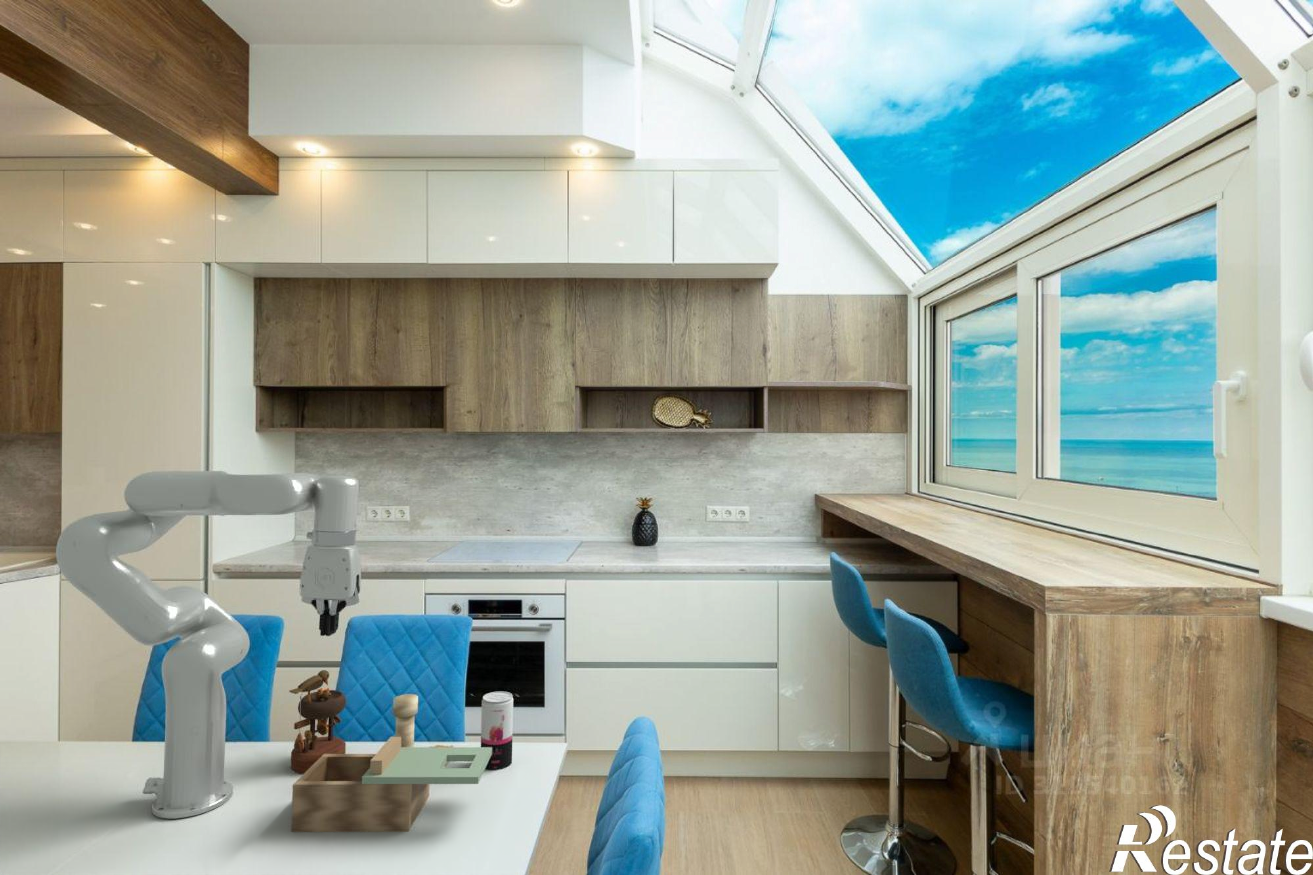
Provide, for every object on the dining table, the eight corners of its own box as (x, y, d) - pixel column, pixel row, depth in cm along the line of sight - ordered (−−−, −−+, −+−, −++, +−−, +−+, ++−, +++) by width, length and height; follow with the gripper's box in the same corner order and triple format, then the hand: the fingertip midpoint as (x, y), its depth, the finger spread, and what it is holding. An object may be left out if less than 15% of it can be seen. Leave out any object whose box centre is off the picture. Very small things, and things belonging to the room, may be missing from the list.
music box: (320, 780, 136) (316, 680, 137) (273, 779, 138) (269, 680, 139) (366, 748, 151) (362, 658, 152) (323, 747, 153) (319, 659, 154)
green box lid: (361, 784, 117) (362, 763, 117) (386, 753, 129) (387, 734, 129) (478, 783, 118) (478, 763, 118) (492, 753, 130) (492, 734, 130)
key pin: (387, 782, 136) (389, 702, 136) (395, 771, 141) (397, 694, 141) (411, 782, 136) (413, 702, 137) (419, 771, 141) (421, 694, 141)
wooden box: (291, 837, 116) (292, 784, 116) (322, 801, 128) (324, 753, 128) (408, 836, 117) (409, 784, 117) (429, 801, 129) (430, 753, 129)
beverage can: (500, 777, 139) (502, 703, 139) (473, 771, 141) (475, 699, 142) (517, 763, 145) (519, 693, 146) (491, 758, 147) (493, 689, 148)
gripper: (285, 539, 127) (278, 637, 127) (364, 543, 127) (357, 641, 127) (306, 535, 135) (300, 627, 134) (380, 538, 135) (374, 631, 134)
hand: (328, 633), depth 130 cm, fingers closed
